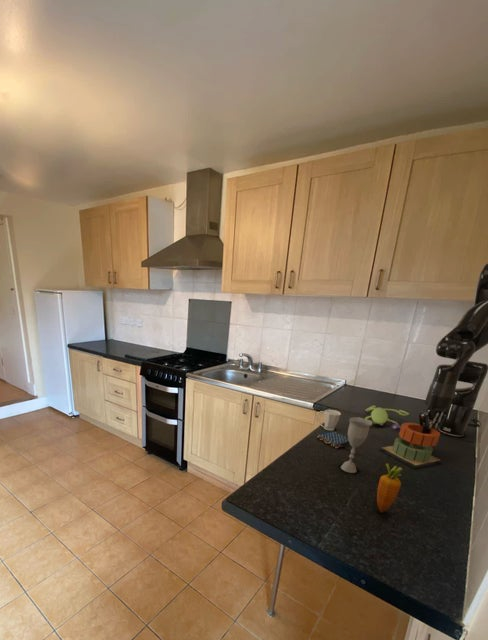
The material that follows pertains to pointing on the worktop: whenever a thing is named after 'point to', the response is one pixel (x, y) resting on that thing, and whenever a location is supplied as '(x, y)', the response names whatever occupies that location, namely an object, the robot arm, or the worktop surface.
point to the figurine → (383, 416)
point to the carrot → (388, 488)
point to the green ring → (412, 450)
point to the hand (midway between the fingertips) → (426, 436)
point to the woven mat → (333, 439)
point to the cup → (330, 419)
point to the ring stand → (412, 445)
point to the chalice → (356, 439)
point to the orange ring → (418, 434)
